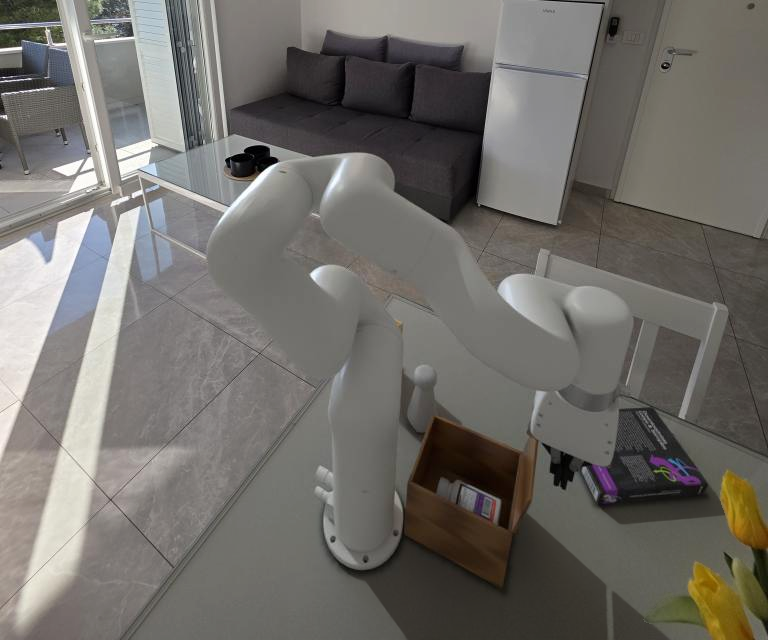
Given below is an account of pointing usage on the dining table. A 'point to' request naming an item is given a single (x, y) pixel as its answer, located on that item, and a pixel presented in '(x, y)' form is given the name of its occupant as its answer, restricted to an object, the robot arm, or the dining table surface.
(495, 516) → the pill bottle
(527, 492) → the flap
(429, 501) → the wooden storage box
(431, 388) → the salt shaker
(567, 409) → the robot arm
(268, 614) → the dining table surface
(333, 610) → the dining table surface
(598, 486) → the box
